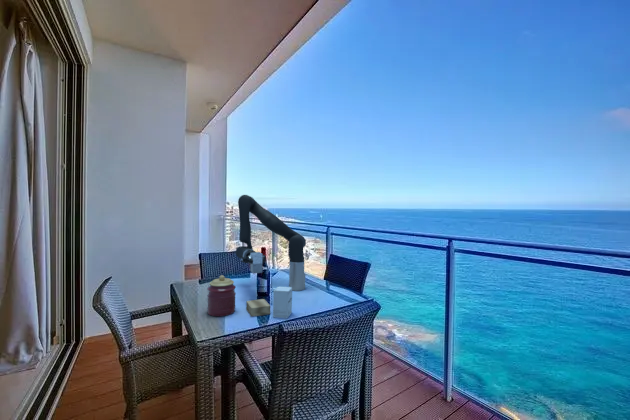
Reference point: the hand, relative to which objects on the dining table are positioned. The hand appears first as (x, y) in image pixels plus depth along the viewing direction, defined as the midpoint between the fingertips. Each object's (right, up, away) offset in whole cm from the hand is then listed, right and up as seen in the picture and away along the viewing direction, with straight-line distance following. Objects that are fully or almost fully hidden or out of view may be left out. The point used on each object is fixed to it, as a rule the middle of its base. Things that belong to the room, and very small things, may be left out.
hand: (257, 261), depth 155 cm
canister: (-15, -22, -13) cm, 30 cm away
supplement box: (+15, -23, -16) cm, 32 cm away
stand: (+2, -22, -12) cm, 25 cm away
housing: (-1, -6, +2) cm, 7 cm away
